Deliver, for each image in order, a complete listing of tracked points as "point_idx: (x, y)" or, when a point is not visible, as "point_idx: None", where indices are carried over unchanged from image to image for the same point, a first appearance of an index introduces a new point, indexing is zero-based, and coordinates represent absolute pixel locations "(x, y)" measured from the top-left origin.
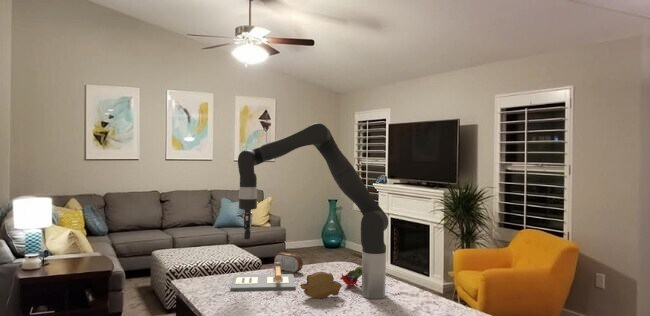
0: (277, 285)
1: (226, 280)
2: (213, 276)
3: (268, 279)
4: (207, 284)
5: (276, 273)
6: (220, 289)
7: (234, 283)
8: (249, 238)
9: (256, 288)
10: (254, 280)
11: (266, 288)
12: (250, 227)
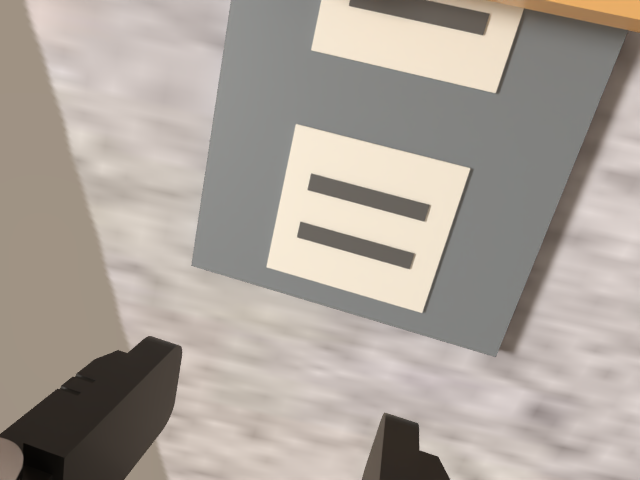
0: None
1: (251, 315)
2: None
3: (389, 57)
4: (308, 426)
5: (608, 5)
6: (438, 389)
7: (401, 311)
8: (417, 429)
9: (559, 193)
10: (382, 170)
11: (588, 120)
12: (21, 465)
